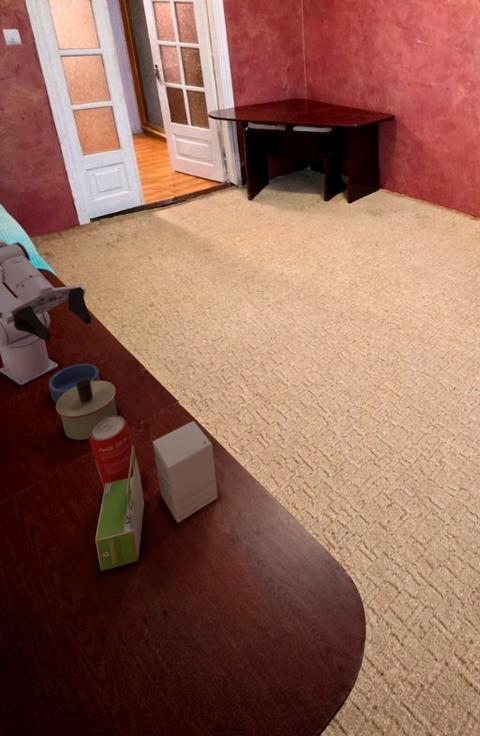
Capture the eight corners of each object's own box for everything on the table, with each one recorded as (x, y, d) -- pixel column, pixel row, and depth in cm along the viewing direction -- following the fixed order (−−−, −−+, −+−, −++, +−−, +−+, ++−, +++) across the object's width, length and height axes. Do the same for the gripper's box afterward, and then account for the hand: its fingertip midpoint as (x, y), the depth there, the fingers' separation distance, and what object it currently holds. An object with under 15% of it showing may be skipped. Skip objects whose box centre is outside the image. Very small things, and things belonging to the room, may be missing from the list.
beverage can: (149, 477, 88) (139, 412, 83) (127, 509, 82) (114, 441, 77) (118, 472, 89) (106, 408, 83) (94, 504, 83) (79, 437, 77)
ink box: (110, 513, 81) (98, 449, 77) (145, 503, 83) (135, 441, 78) (100, 573, 72) (85, 505, 68) (140, 561, 74) (128, 494, 70)
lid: (45, 407, 95) (41, 388, 94) (96, 378, 104) (93, 360, 102) (76, 428, 91) (72, 408, 90) (127, 396, 100) (123, 377, 98)
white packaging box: (200, 472, 90) (195, 418, 86) (218, 498, 85) (213, 443, 81) (159, 495, 85) (151, 440, 81) (176, 525, 80) (168, 468, 76)
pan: (42, 394, 106) (39, 381, 105) (85, 371, 114) (82, 359, 112) (67, 410, 102) (64, 397, 101) (109, 385, 110) (107, 372, 108)
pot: (54, 427, 97) (49, 404, 95) (99, 400, 105) (95, 378, 103) (82, 446, 94) (76, 422, 92) (126, 417, 101) (122, 394, 99)
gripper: (-11, 286, 92) (29, 332, 88) (70, 261, 104) (108, 300, 100) (-11, 311, 95) (27, 356, 92) (66, 284, 107) (103, 323, 104)
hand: (69, 329), depth 96 cm, fingers open, 7 cm apart
